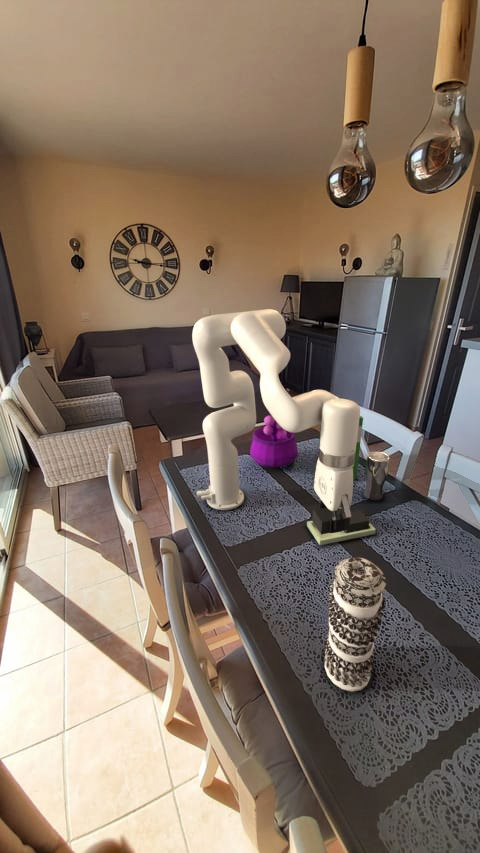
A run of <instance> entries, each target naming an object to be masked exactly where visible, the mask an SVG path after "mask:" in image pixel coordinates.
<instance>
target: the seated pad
mask: <svg viewBox="0 0 480 853" xmlns="http://www.w3.org/2000/svg"><path fill="white" fill-rule="evenodd" d="M350 513H351V518H350V524H349V530H343V531H344V532H345V533H351V532H356V531H361V530H366V529H368V528H369V523H370V519H369V518H368V517H367V516H366V515H365V514H364V513H363V512H362V511H361V510H354V511H350Z"/></svg>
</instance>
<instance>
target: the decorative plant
mask: <svg viewBox="0 0 480 853" xmlns="http://www.w3.org/2000/svg"><path fill="white" fill-rule="evenodd" d="M263 422H264V424H265V426H261V427H259V428H257V429H255V430H254V432H253V436H252V442H251V444H250V450H249V452H250V453H249V454H250V457H251V459H252V460H253V461H254V462H255V463H256V464H258V465H260V466H262V467H266V468H273V469H274V468H283V467H287V466H289V465H291V464H292V463H294V462H295V461H296V460H297V458H298V456H299V452H298V443H297V440H296V433H292V432H288V431H286V430H285V429H283V428H282V427H281V426H280V425H279V424H278V423H277V422H276V420H275V419H274V418H273V416H272V415H270V414H269V415H266V416H265V417H264V419H263Z"/></svg>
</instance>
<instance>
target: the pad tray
mask: <svg viewBox="0 0 480 853" xmlns="http://www.w3.org/2000/svg"><path fill="white" fill-rule="evenodd" d="M306 527H307V528H308V530H309V531H310V533H311V535H312V536H313V537H314V539H315V540H316V542H317V543H318V546H323V545H328V544H334V543H338V542H343V541H347V540H351V539H352V540H353V539H357V538H362V537H366V536H372V535H376V530H377V529H376V528H375V527H374V526H373V525H372V524H371V522H369V528H368V529H366V530H361V531H356V532H351V533H345V532H344V531H342V532H336V533H327V534H322V535H321V534H320V532H319V531H318V529H317V528H316V526H315V525H314V523H313V522H312V520H309V521H306Z"/></svg>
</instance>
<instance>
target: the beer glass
mask: <svg viewBox="0 0 480 853" xmlns="http://www.w3.org/2000/svg"><path fill="white" fill-rule="evenodd" d="M389 469H390V456H389V455H388V454H387V453H385V452H382V451H371V452H369V453H367V456H366V462H365V468H364V474H365V488H364V491H363V496H364V497H365V498H367V499H369V500H372V501H380V500H382V499H383V498H384V492H383V490H384V485H385V483H386V481H387V477H388V474H389Z"/></svg>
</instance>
